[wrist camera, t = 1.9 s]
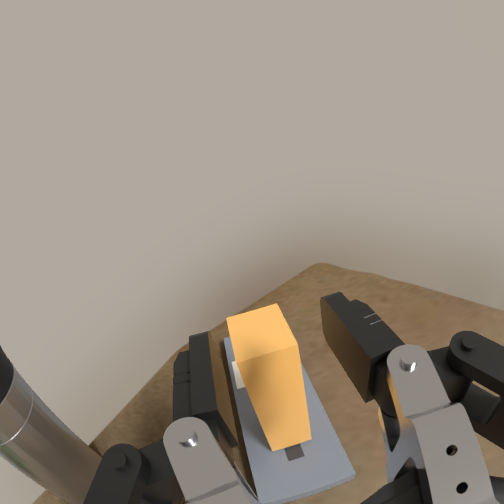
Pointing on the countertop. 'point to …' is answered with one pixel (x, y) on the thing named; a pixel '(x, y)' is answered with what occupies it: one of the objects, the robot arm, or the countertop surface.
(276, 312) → the slider tab
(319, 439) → the switch panel
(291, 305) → the countertop surface
